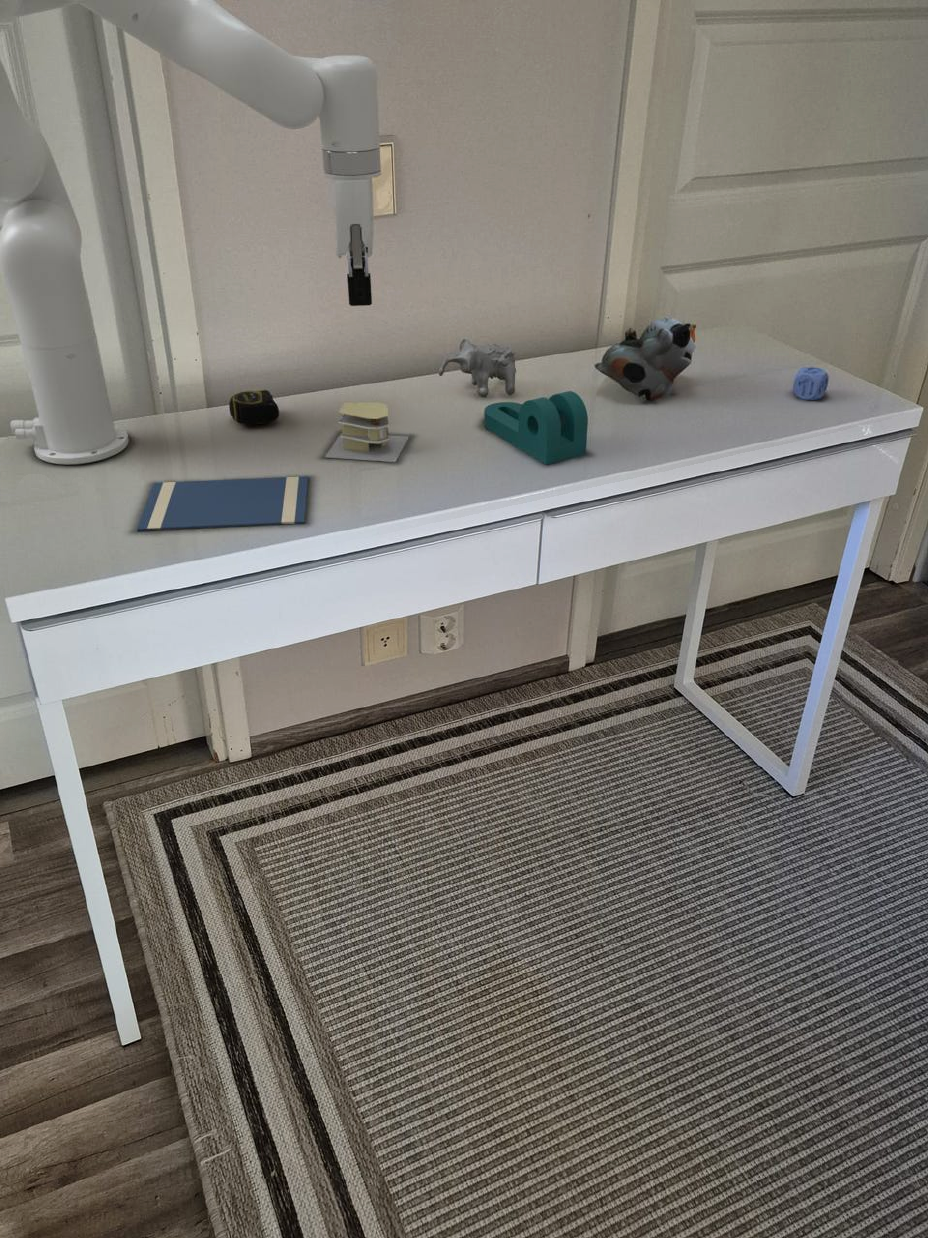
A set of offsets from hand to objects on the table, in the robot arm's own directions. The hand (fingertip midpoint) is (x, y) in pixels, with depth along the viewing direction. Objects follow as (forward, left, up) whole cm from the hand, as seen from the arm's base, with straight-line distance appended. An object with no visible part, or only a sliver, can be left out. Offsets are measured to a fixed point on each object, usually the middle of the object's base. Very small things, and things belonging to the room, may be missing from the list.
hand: (360, 303), depth 145 cm
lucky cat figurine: (+44, +8, -17) cm, 48 cm away
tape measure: (-16, +1, -17) cm, 24 cm away
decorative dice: (+69, +2, -17) cm, 71 cm away
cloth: (-18, -27, -17) cm, 37 cm away
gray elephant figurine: (+18, +9, -17) cm, 26 cm away
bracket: (+23, -10, -17) cm, 30 cm away
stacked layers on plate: (0, -11, -17) cm, 20 cm away
